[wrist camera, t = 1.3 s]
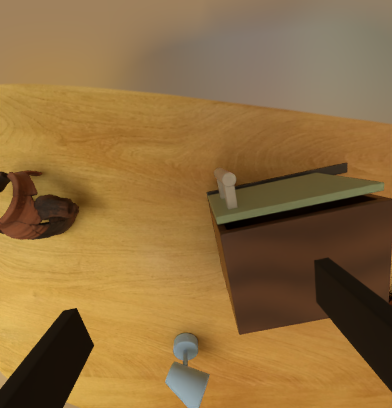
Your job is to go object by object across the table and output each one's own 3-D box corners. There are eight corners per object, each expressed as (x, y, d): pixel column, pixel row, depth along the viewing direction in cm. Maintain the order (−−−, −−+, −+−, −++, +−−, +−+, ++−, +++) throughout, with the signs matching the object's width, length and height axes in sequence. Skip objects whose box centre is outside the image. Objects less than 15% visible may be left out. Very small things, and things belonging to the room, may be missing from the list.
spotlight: (208, 334, 36) (172, 329, 35) (215, 402, 26) (165, 396, 25) (203, 354, 37) (168, 350, 36) (207, 426, 27) (159, 421, 27)
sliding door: (202, 169, 27) (208, 178, 17) (315, 145, 26) (386, 140, 17) (208, 200, 28) (217, 224, 18) (316, 177, 28) (384, 190, 18)
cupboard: (206, 192, 29) (216, 217, 17) (345, 162, 28) (454, 168, 16) (222, 269, 32) (239, 335, 21) (346, 245, 31) (437, 298, 20)
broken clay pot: (35, 240, 31) (-39, 240, 23) (43, 184, 32) (-22, 166, 25) (96, 238, 27) (35, 237, 20) (102, 176, 29) (48, 153, 22)
